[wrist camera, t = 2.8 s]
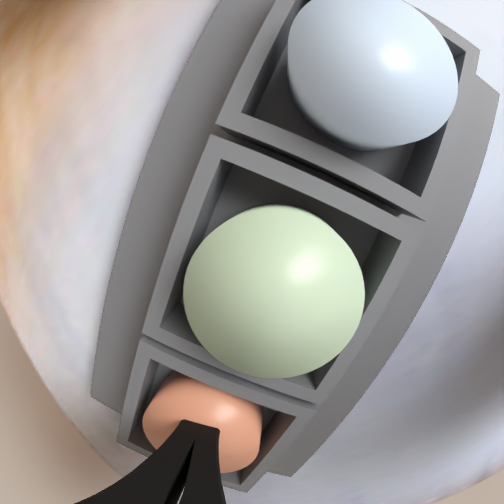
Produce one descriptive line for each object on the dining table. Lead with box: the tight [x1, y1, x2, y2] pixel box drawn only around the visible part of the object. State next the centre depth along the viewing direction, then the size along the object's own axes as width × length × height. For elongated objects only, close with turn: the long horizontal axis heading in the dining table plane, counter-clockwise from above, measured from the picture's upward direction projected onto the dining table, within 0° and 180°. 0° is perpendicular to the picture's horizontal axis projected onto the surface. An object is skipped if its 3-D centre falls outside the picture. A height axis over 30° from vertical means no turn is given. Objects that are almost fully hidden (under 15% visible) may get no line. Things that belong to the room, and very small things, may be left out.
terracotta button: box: [142, 371, 263, 473], centre depth 10 cm, size 4×4×2 cm
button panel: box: [91, 0, 500, 493], centre depth 10 cm, size 11×20×3 cm, turn 157°
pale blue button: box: [287, 0, 458, 151], centre depth 7 cm, size 4×4×2 cm
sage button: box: [183, 203, 365, 378], centre depth 8 cm, size 4×4×2 cm
